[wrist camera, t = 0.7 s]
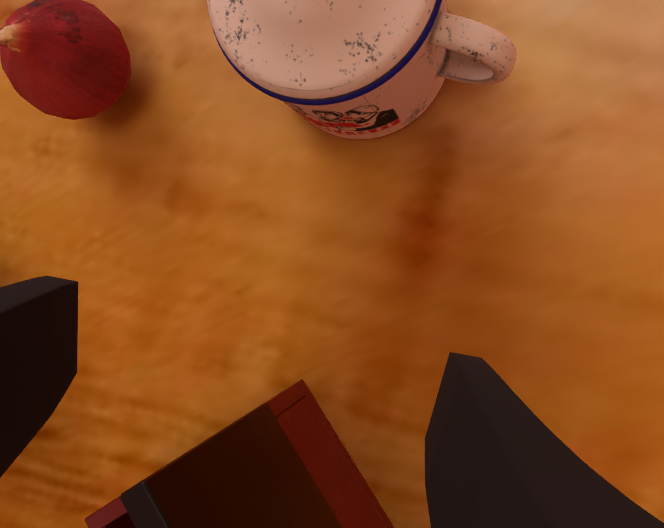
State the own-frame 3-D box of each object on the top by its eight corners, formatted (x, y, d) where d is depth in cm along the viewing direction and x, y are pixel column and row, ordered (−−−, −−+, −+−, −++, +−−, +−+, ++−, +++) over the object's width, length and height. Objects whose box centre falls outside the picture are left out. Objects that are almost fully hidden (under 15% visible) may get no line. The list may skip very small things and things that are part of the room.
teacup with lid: (255, 115, 32) (132, 38, 21) (313, -55, 32) (217, -230, 20) (474, 188, 30) (467, 144, 18) (544, 5, 29) (581, -159, 18)
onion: (80, 20, 35) (-36, -49, 27) (169, 38, 34) (74, -29, 26) (57, 120, 35) (-63, 81, 28) (144, 142, 34) (43, 107, 26)
